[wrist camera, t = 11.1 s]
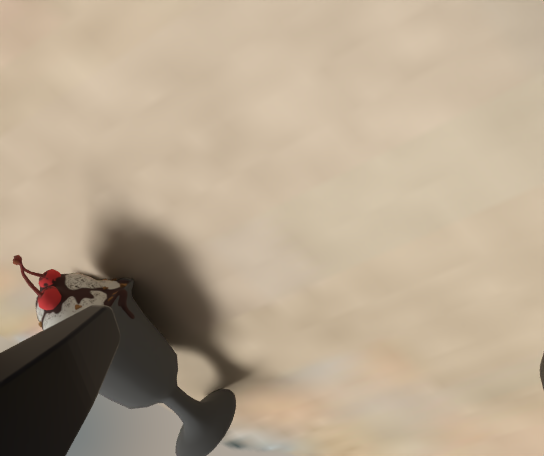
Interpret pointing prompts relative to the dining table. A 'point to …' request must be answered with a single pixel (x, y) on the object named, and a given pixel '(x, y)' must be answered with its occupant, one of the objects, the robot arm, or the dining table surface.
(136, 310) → the sundae
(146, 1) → the dining table surface
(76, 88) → the dining table surface
